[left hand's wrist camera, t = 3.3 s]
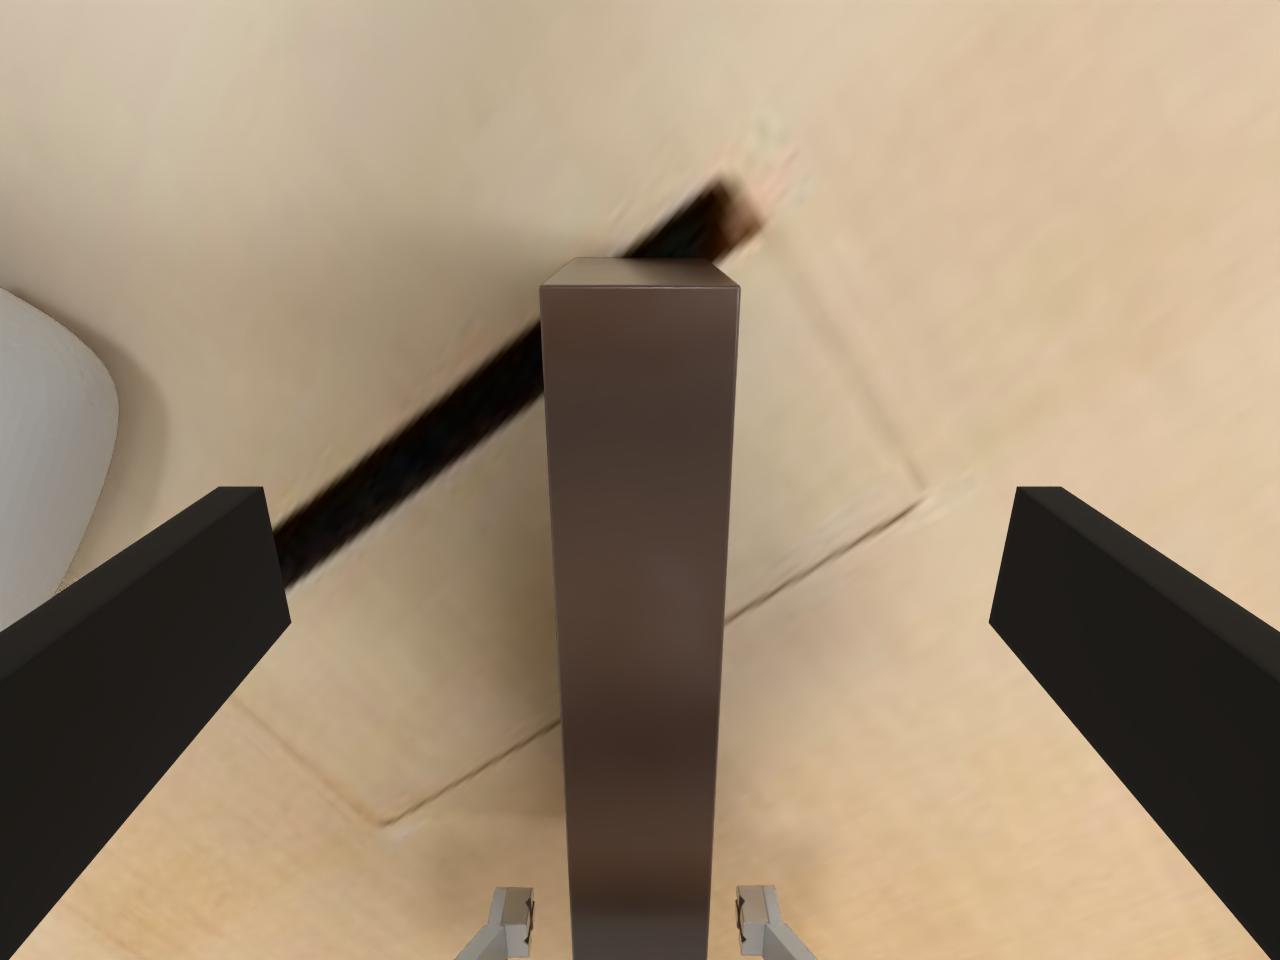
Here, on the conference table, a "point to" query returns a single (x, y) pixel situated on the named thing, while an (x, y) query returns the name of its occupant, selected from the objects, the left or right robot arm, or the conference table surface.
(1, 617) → the projector
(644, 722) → the beam
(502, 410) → the conference table surface
